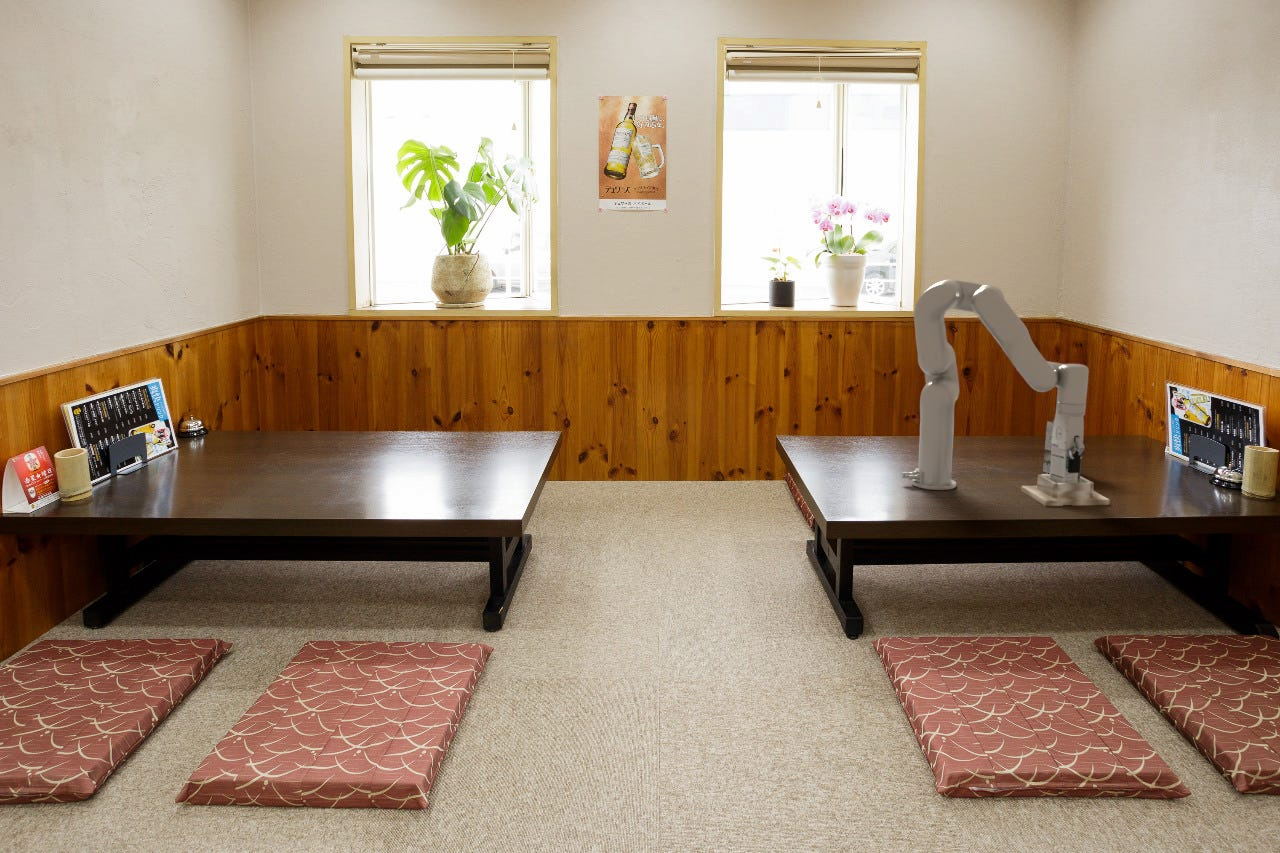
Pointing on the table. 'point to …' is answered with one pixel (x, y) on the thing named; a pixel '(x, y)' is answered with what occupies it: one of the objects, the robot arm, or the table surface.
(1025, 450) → the table surface
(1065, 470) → the syrup box
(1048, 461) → the coffee box
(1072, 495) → the holder
